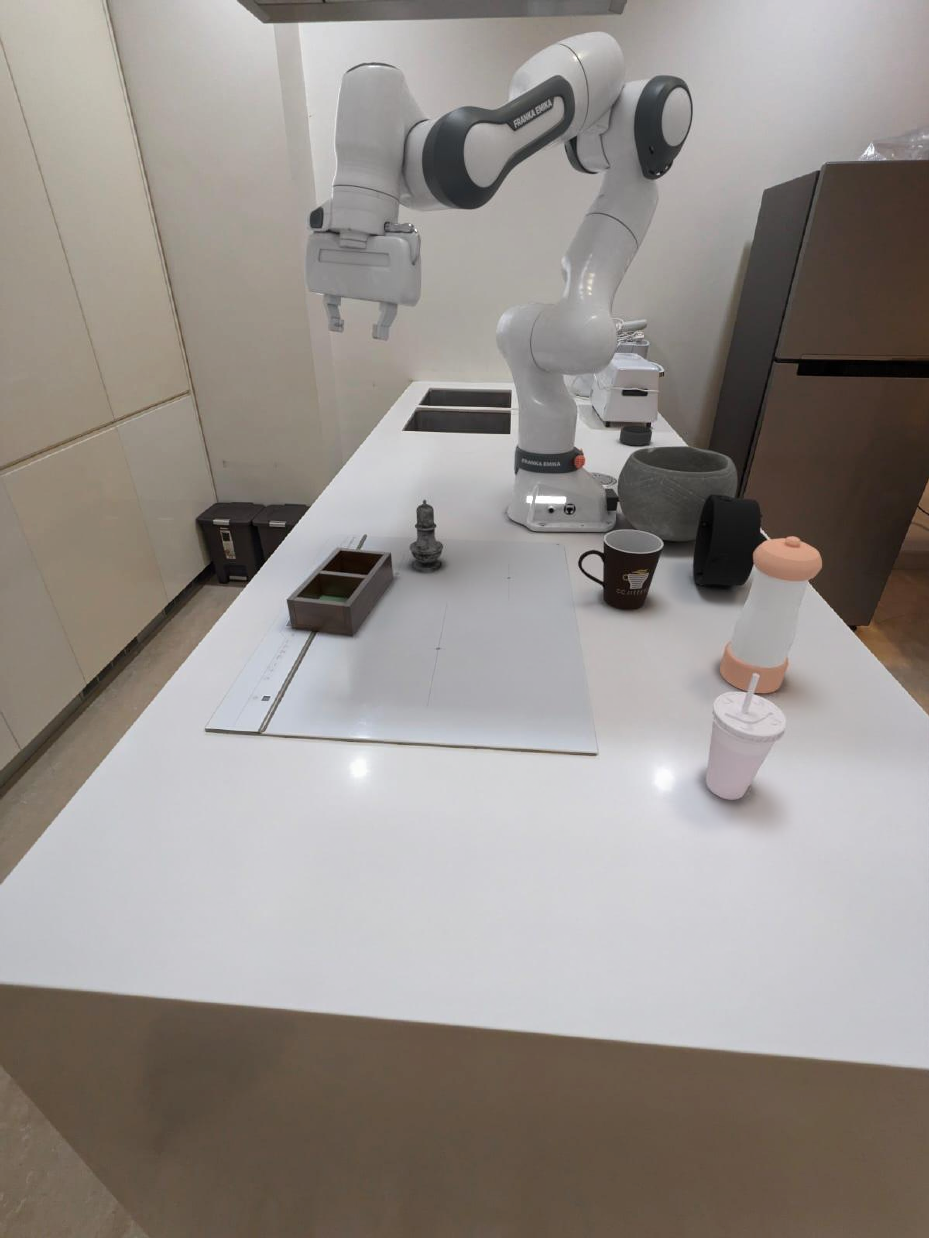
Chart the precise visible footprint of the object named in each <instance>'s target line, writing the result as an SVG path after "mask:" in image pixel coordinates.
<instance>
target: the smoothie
mask: <svg viewBox="0 0 929 1238" xmlns="http://www.w3.org/2000/svg"><path fill="white" fill-rule="evenodd" d="M758 679H759V674H756V673H754V674H753V675H752V678H751V681H750V684H749V688H748V691H728V692H724V693H722V694H720V695H718V696H717V697H716V698H715V699H714V701H713V703H712V704H713V705H712V707H711V709H710V717H711V719H712V724H711V734H710V741H709V742H710V744H709V750H708V751H709V752H708V758H707V768H706V775H705V784H706V786H707V788H708V789H709V791H710V792H711V793H713V795H716V796H717V797H720V798H721V799H724V800H730V801H733V800H734V801H735V800H739V799H741V798H742V797H744V795H745V793H746V792H747V790H748V788H749V786H750V785H751V783H752V782H753V780H754V778H755V777H756V775H757V774H758V771H759V770H760V768H761V766H762V765H763V763H764V761H765V760H766V758H767V756H768V755H769V753H770V751H772V748H773V746H774V745H775V743H776V742H777V741H780V740H781V739H782V738H784V737H783V736H784V735H785V731H786V728H787V723H788V722H787V718H786V715H785V714H784V712H783V711H782V709H780V707H779V706H777V705H776V704H775V703H773V702H772V701H770V700H769V699H767V698H765V697H762V696H760V695H757V694H755V693H754V691H755V688H756V685H757V682H758Z"/></svg>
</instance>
